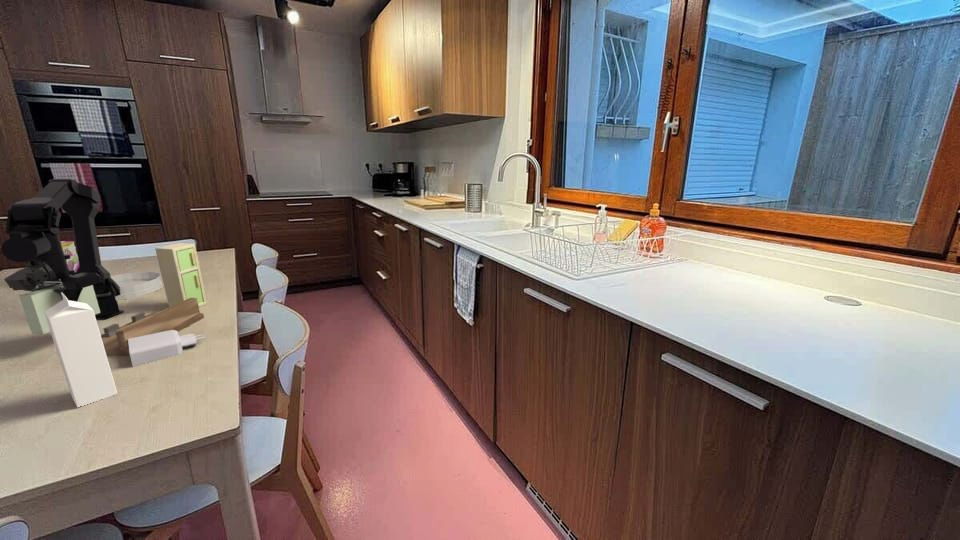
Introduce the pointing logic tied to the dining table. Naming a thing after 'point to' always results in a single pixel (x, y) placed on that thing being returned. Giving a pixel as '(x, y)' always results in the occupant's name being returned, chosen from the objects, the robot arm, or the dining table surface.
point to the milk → (80, 351)
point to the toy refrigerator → (181, 273)
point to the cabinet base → (150, 325)
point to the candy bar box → (71, 254)
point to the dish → (137, 284)
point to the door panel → (50, 305)
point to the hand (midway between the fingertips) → (65, 311)
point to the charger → (159, 346)
